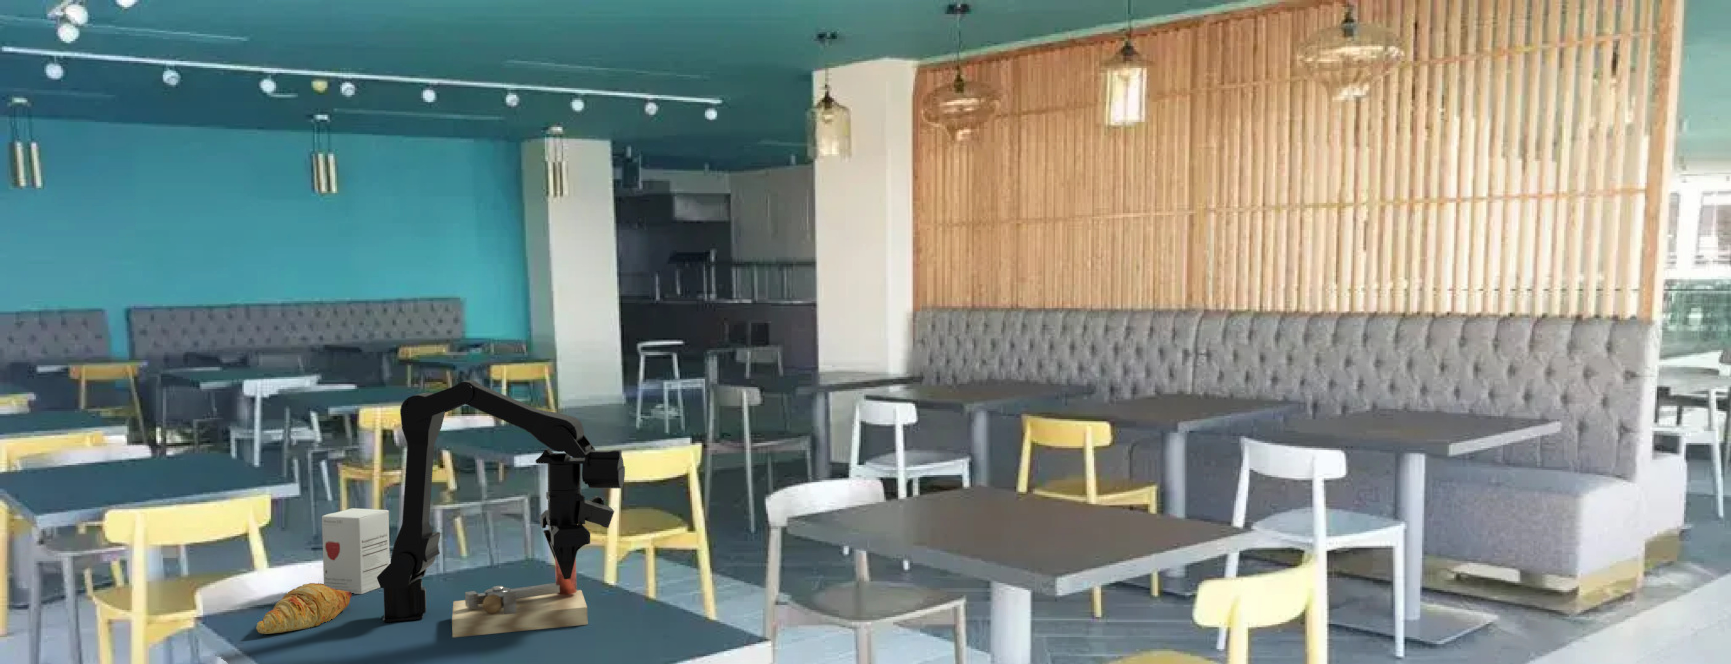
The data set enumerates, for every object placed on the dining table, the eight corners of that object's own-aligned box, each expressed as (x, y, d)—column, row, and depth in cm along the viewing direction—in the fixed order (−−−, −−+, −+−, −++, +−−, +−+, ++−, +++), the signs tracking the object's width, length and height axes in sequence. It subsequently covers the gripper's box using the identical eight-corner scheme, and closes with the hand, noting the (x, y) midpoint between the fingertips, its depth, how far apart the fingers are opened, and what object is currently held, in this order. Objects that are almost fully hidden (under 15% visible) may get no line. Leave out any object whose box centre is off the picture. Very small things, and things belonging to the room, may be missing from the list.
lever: (470, 610, 208) (468, 567, 208) (464, 604, 212) (462, 563, 211) (580, 594, 218) (579, 553, 217) (572, 589, 221) (571, 549, 221)
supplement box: (321, 592, 237) (319, 515, 236) (354, 581, 246) (351, 507, 245) (361, 594, 234) (358, 517, 234) (392, 583, 243) (389, 508, 242)
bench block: (452, 637, 204) (451, 601, 203) (454, 617, 216) (453, 584, 216) (587, 624, 210) (586, 589, 210) (581, 606, 223) (580, 573, 222)
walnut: (482, 616, 205) (482, 597, 205) (482, 611, 208) (482, 593, 208) (502, 614, 206) (502, 595, 206) (502, 609, 209) (501, 591, 209)
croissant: (273, 660, 205) (289, 620, 203) (229, 628, 207) (245, 588, 206) (361, 623, 225) (376, 587, 223) (320, 595, 227) (335, 559, 226)
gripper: (619, 494, 211) (620, 583, 212) (601, 476, 228) (601, 559, 229) (553, 498, 207) (554, 589, 208) (539, 479, 224) (540, 564, 225)
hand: (564, 574), depth 217 cm, fingers open, 5 cm apart
